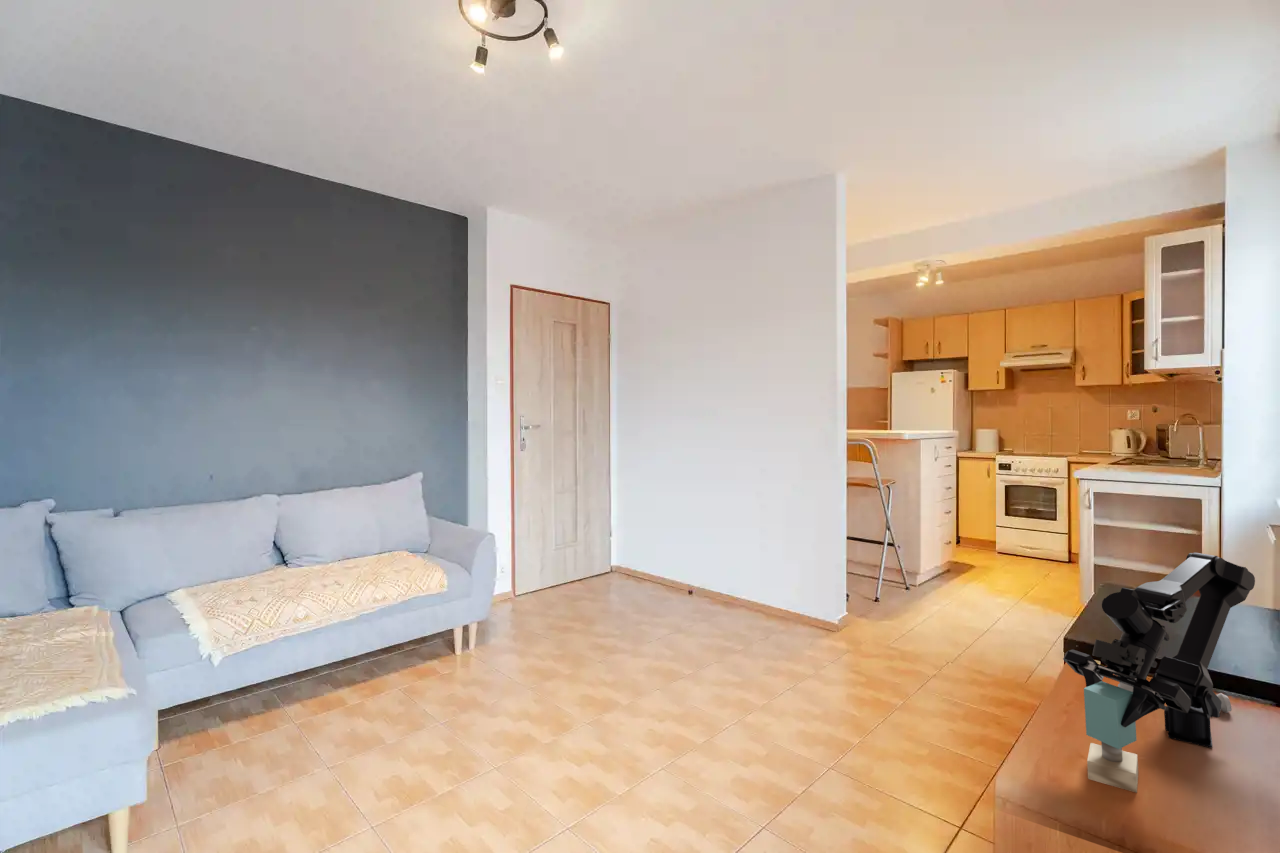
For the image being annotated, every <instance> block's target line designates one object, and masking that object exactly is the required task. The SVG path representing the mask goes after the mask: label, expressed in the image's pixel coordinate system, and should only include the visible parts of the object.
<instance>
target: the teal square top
mask: <svg viewBox="0 0 1280 853" xmlns="http://www.w3.org/2000/svg"><path fill="white" fill-rule="evenodd" d="M1083 697H1084V698H1083V700H1084V717H1085V733H1086V734H1085V735H1086V736H1088V737H1091V738H1092V739H1095V740H1097V741H1099V742H1100V743H1101V742H1104V743H1106V744H1108V745H1110V746H1112V747H1115V748H1117V749H1120V748H1122V749H1123V748H1124V747H1126V746H1129V745H1130V744H1132V743H1135V742H1136V741H1137V740H1138V739H1137V724H1136V723H1137V721H1135V722H1133V723H1132V724H1130V725H1129V726H1127V727H1123V726H1122V725H1121V721H1122V718H1123V715H1124V713H1125V711H1126V709H1127V707H1128V705H1129V703H1130V701H1131V699H1132V697H1133V692H1131V691H1128V690H1125V689H1123V688H1120V687H1118V685H1114V684H1111V683H1110V682H1109V683H1108V682H1105V681H1103V680H1102V681H1100V682H1098V683H1095V684H1093V685H1090V686H1088V687H1086V686H1085V687H1084V688H1083Z"/></svg>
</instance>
